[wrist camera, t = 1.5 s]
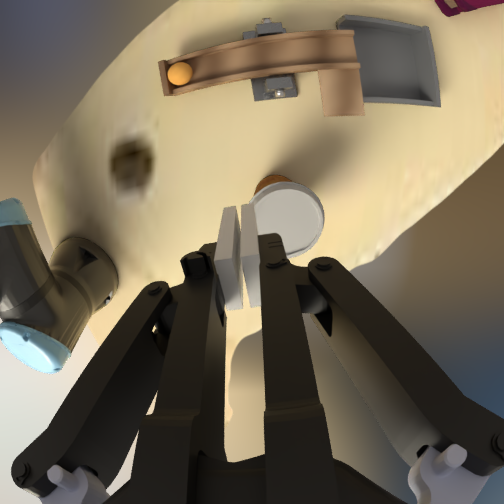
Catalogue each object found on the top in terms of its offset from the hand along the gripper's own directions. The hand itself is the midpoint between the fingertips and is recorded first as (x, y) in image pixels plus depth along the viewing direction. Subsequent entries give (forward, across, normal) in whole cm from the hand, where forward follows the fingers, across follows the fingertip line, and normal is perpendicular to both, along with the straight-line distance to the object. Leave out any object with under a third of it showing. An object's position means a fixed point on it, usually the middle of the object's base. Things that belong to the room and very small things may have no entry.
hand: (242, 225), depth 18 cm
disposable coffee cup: (+25, +4, -6) cm, 26 cm away
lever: (+20, +4, +11) cm, 23 cm away
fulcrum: (+24, +6, +14) cm, 29 cm away
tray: (+24, +24, +14) cm, 37 cm away
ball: (+20, -6, +14) cm, 25 cm away
